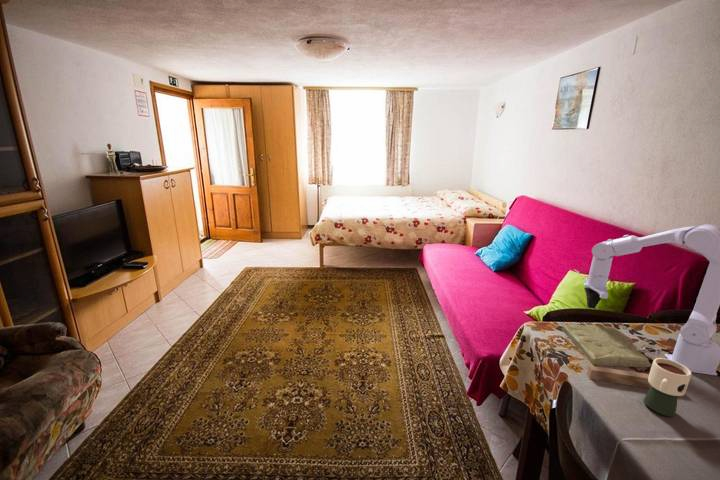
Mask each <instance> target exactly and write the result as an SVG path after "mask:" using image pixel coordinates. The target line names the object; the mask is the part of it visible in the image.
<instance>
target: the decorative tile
mask: <svg viewBox="0 0 720 480" xmlns="http://www.w3.org/2000/svg"><path fill="white" fill-rule="evenodd" d="M561 331H562V332H563V334H565V335H566V337H568V339H569V338H570V339H571V340H572V341H571V340H570V339H569V340H570V341H571V342H572V343H573V344H574V345H575V347H578V348H579V349H580V350H581V351H582V352H583V353H582V352H581V351H580V350H579V349H578V348H577V349H578V350H579V351H580V352H581V353H582V355H585V356H586V357H587V358H586V357H585V356H584V357H585V358H586V359H587V361H589V362H590V364H592V365H593V366H595V365H596V366H611V367H612V366H616V367H617V366H619V367H630V368H631V367H632V368H633V367H634V368H635V367H637V368H649V367H650V368H651V363H650V361H649V360H650V359H649V358H648V357H646V356H645V354H643V353H642V352H640V351H639V350H638V349H637V346H636V345H635V344H633V341H632V339H631V337H630V336H628V335H626V334H624V333H623V331H620V330H618V329H617V328H616V327H614V326H598V325H596V324H595V325H594V324H585V325H581V324H577V323H576V324H575V323H574V324H563V325H562V327H561Z"/></svg>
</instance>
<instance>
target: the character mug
mask: <svg viewBox="0 0 720 480" xmlns="http://www.w3.org/2000/svg"><path fill="white" fill-rule="evenodd" d="M692 373H693V372H691V371H690V370H689V369H688V368H687V367H686V366H684V365H682V364H680V363H678V362H676V361H673V360H670V359H668V358H667V357H666V358H665V357H657V358H656V357H655V358H654V359H653V361H652V363H651V366H650V370H649V377H648V382H649V384H650V385H651V387H650V388H648V390H647V392H646V394H645V397H644V398H643V402H644V405H646V406H647V407H649V408H650V409H652V410H653V411H654V412H656V413H659V414H660V415H663V416H667V417H673V416H675V414H676V412H677V406H678V397H682V396H684V395H685V394H686V392H687V389H688V387H689V384H690V381H691V377H692Z"/></svg>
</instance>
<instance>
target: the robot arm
mask: <svg viewBox="0 0 720 480" xmlns="http://www.w3.org/2000/svg"><path fill="white" fill-rule="evenodd" d="M667 243H675V244H678V245H680V246H683V245H686V246H687V247H688V248H690V249H691V250H693V251H696V252H697V253H700V254H701V255H702V256H703V257H705V258H706V260H708V262H709V264H708V265H707V269H706V273H705V275H704V277H703V281H702V284H701V286H700V289H699V292H698V295H697V297H696V302H695V304H694V307H693V310H692V312H691V313H690V316H689V318H688V320H687V322H686V323H685V324H684V325H682V326H681V327H680V329H679V334H678V337H677V339H676V343H675V345H674V349H673V352H672V354H670V353H664V356H665V357H666V359H670V360H673V361H676V362H678V363H680V364H682V365H684V366H686V367H687V368H688V369H689V370H690V371H691V373H697V374H703V375H704V374H705V375H709V376H718V373H717V369H718V367H719V364H720V345H719V344H718V342H716V341H712V339H711V338H712V336H713V335H714V334H716V332H717V330H718V326H717V324H716V320H717V313H718V310H719V308H720V227H718V226H717V225H714V224H709V223H704V224H701V225H698V226H696V225H692V226H685V227H684V226H683V227H680V228H673V229H670V230H669V229H668V230H666V231H662V232H661V231H660V232H658V233H653V234H649V235H646V236H641V237H639V236H636V235H630V234H625V235H623V236H622V237H619V238H616V239H615V238H613V239H612V238H609V239H607V240H605V241H602V242H599V243H597V244H595V245H593V247H592V248H591V254H592V260H591V265H590V268H589V273H588V277H587V276H585V279H584V282H583V284H582V285H583V286H584V287H583V288H584V292H585V296H586V306H587V308H588V309H596V307H597V305H598V304H599V303H600V301H601V300H602V299H604V300H605V299H606V300H608V297H609V293H608V291H607V290H608V289H607V284H608V280H609V276H610V272H611V267H612V262H613V258H614V256H615V257H620V256H624V255H630V254H635V253H639V252H641V250H642V249H643V247H649V246H655V245H657V246H658V245H661V244H667Z"/></svg>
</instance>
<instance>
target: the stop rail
mask: <svg viewBox="0 0 720 480" xmlns="http://www.w3.org/2000/svg"><path fill="white" fill-rule="evenodd" d="M649 374H650V373H649ZM649 374H648V373H643V372H642V373H641V372H636V371H630V370H629V371H628V370H621V369H616V368H615V369H614V368H607V367H601V366H595V365H593V366H592V365H588V369H587V372H586V375H587V377H588V379H591V380H597V381H603V382H610V383H615V384H616V383H617V384H624V385H630V386H637V387H641V388H648V389H650V387H651V385H650V384H649V382H648V377H649Z"/></svg>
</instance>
